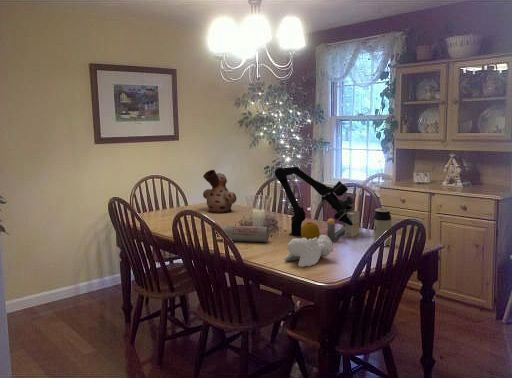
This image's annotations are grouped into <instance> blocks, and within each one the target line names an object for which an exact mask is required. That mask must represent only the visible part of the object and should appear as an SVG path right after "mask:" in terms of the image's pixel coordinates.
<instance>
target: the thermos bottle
mask: <svg viewBox="0 0 512 378" xmlns="http://www.w3.org/2000/svg"><path fill="white" fill-rule="evenodd" d="M221 228H222V229H223V230H224V231H225V232H226V233H227V234H228V236H229V237H230V238H231V239H232V241H231V242H253V243H255V242H257V243H259V242H260V243H268V242H269V237H270V230H269V227H268V226H253V225H252V226H251V225H249V226H247V225H225V226H222V227H221ZM215 233H216V234H217V237H216V238H221V237H220V236H219V235H218V233H217V232H216V231H215ZM216 234H215V235H216Z"/></svg>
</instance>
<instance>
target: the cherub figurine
mask: <svg viewBox="0 0 512 378" xmlns="http://www.w3.org/2000/svg"><path fill="white" fill-rule="evenodd" d="M332 243H333V242H332V241H331V240H330V238H329V237H328V235H325V234H320V235H319V238H318V239H317V237H315V238H313V239H312V240H311V239H309V240H307V239H306V238H302V237H301V238H299V237H298V238H292V239H291V240H290V241H289V242H288V244H287V245H286V246H287V250H288V251H289V253H288V254H287V256H284V258H283V260H284V261H285V262H289V261H295V260H299V261H298V264H297V266H298V267H300V268H304V267H312V266H315V265H316V264H317V263H318V262H319V260H320V258H322V259H324V258H326V257H328V256H329V255H330V254H331V253H332V252H333V251H334V249H333V245H332Z"/></svg>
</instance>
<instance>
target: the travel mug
mask: <svg viewBox="0 0 512 378" xmlns="http://www.w3.org/2000/svg"><path fill="white" fill-rule="evenodd" d="M374 211H375V215H374V217H373V218H374V225H373V226H374V229H373V231H374V232H373V235H374V236H373V243H374V242H375V241H376V240H377V239H378V238H379V237H380V236H381V235H382V234H383V233H384V232H385V231H386V230H388V229H389V228H390V227H391V228H392V215H391V213H390V212H391V209H390V208H385V207H381V208H378V207H377V208H375V209H374ZM391 238H392V237H390V238H389V239H388V240H387V241H386V243H385V246H386V247H388V246H387V245H389V244H390V245H391V243H390V241H391V240H392V239H391ZM390 245H389V246H390Z"/></svg>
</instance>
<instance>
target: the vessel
mask: <svg viewBox="0 0 512 378" xmlns="http://www.w3.org/2000/svg"><path fill="white" fill-rule="evenodd" d="M203 179H204V180H206V182H208V183H209V185H210V187H211V189H210V188H207V189H205V190H203V192H202V196H203V198H204V199H205V200H206V206H207V208H208V213H212V214H224V213H228V212H232V206H233V205H234V204H235V203H236V202H237V199H238V198H237V196H236V193H234V192H233V191H229V189H228V187H227V185H226V184H228V180H227V176H226V175H225V174H224V173H221V172H216V171H215V169H210V170H208V171H206V172H205V173H204V174H203Z"/></svg>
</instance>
